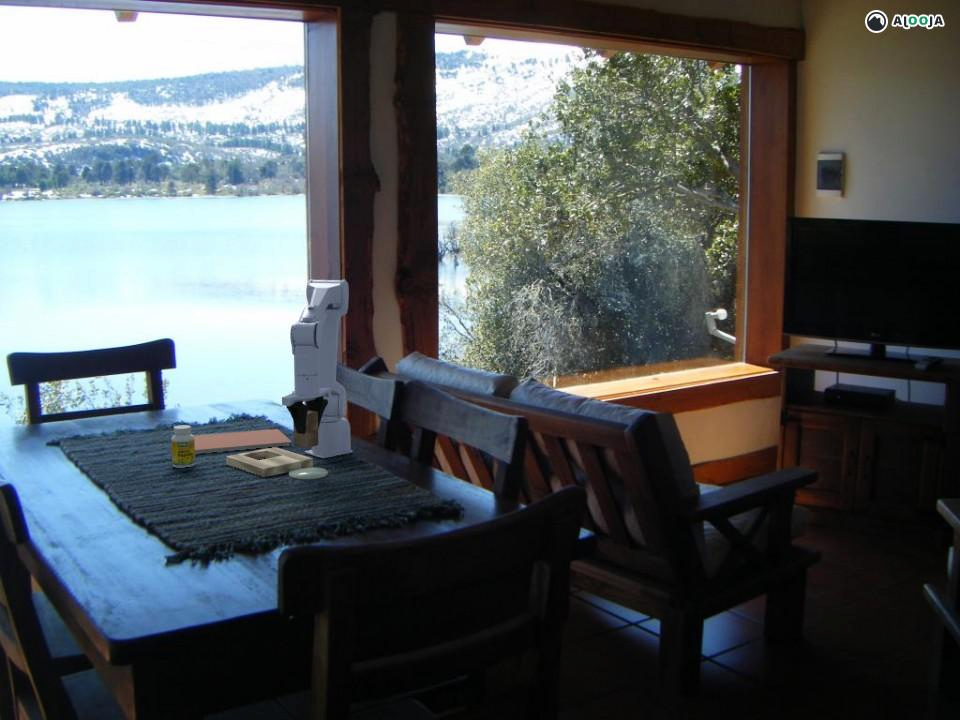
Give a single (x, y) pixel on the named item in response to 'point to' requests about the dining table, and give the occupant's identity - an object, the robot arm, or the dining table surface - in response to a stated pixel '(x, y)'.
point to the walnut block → (308, 432)
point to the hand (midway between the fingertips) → (307, 431)
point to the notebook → (239, 441)
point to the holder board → (269, 461)
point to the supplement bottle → (183, 447)
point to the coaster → (308, 473)
